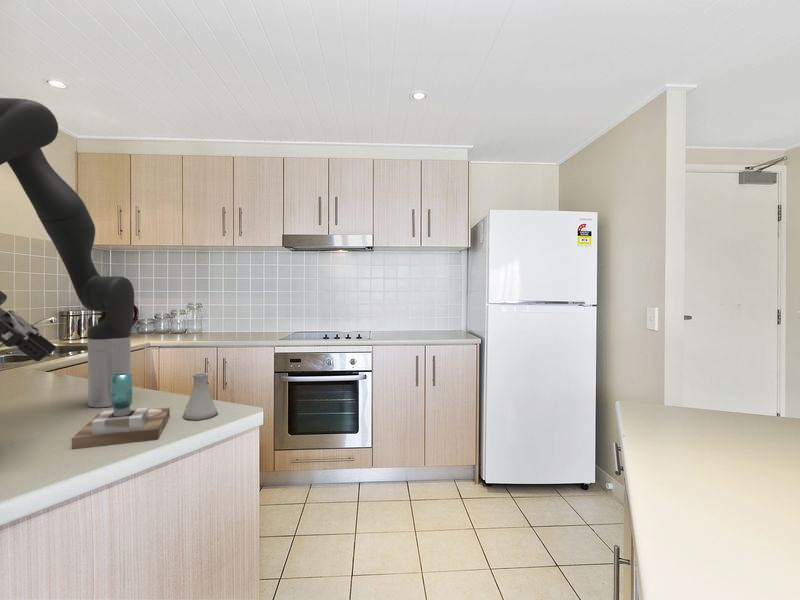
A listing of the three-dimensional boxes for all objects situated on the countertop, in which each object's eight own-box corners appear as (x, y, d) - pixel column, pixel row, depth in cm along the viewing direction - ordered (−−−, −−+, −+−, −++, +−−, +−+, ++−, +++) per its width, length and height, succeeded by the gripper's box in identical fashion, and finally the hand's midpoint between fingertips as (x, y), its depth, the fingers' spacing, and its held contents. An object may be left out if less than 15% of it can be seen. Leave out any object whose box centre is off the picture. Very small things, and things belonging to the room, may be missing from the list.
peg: (113, 425, 85) (113, 373, 85) (134, 422, 87) (133, 372, 87) (108, 430, 82) (108, 377, 82) (130, 428, 83) (129, 375, 83)
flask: (224, 414, 100) (223, 372, 100) (198, 422, 94) (198, 378, 94) (202, 410, 103) (202, 370, 103) (176, 418, 97) (175, 375, 97)
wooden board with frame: (98, 422, 93) (98, 402, 93) (169, 415, 99) (169, 396, 99) (71, 448, 78) (71, 424, 78) (158, 439, 83) (158, 416, 83)
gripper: (-32, 276, 67) (60, 343, 73) (-6, 279, 79) (71, 336, 86) (-80, 310, 64) (20, 376, 71) (-45, 307, 77) (37, 364, 83)
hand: (48, 354), depth 78 cm, fingers open, 8 cm apart
